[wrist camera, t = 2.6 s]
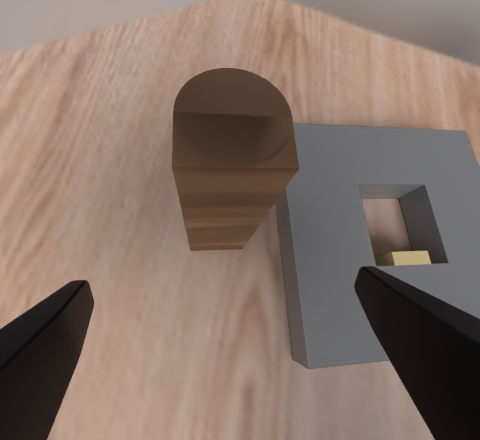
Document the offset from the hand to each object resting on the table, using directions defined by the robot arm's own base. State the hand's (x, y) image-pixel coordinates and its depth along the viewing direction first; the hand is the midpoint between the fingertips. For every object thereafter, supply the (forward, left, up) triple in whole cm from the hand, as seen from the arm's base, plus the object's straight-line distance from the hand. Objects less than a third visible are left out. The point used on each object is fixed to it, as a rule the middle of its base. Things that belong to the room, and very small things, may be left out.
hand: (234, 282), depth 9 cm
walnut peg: (+4, +3, -11) cm, 12 cm away
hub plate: (+13, -8, -11) cm, 19 cm away
